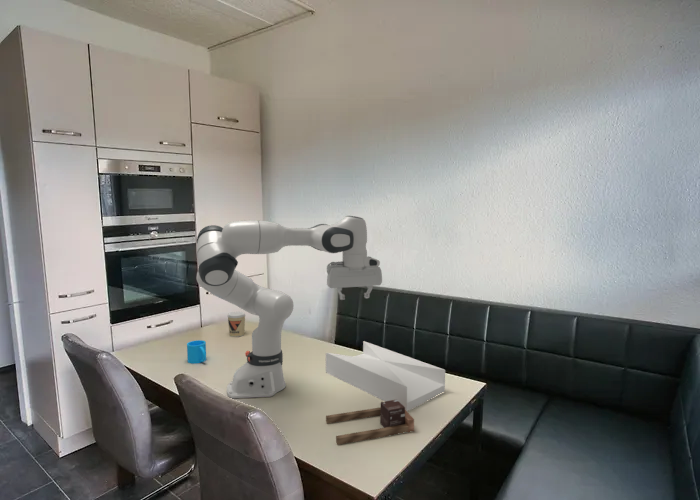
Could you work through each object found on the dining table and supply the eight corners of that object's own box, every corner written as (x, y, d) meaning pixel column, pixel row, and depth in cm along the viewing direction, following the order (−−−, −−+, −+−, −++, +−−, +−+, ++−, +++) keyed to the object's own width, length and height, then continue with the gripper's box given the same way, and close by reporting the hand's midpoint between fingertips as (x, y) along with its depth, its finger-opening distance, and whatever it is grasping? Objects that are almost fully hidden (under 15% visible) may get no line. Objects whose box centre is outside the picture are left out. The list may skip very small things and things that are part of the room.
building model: (444, 393, 156) (445, 369, 155) (406, 413, 141) (407, 386, 140) (363, 360, 190) (363, 340, 189) (325, 373, 175) (325, 352, 174)
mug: (184, 360, 188) (183, 343, 187) (201, 355, 194) (200, 339, 193) (196, 367, 180) (196, 349, 179) (213, 362, 186) (213, 344, 185)
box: (388, 433, 128) (388, 410, 127) (379, 423, 134) (379, 402, 133) (405, 429, 130) (405, 407, 130) (396, 420, 136) (396, 398, 135)
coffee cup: (225, 337, 222) (224, 315, 221) (232, 332, 231) (232, 311, 230) (241, 338, 220) (240, 316, 219) (248, 332, 230) (247, 311, 228)
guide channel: (337, 445, 122) (337, 432, 121) (325, 421, 135) (325, 409, 134) (413, 431, 129) (414, 419, 129) (395, 410, 142) (395, 399, 142)
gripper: (329, 263, 141) (329, 302, 143) (383, 261, 148) (383, 298, 149) (324, 261, 147) (324, 298, 149) (377, 258, 154) (377, 295, 155)
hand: (354, 298), depth 149 cm, fingers open, 8 cm apart
